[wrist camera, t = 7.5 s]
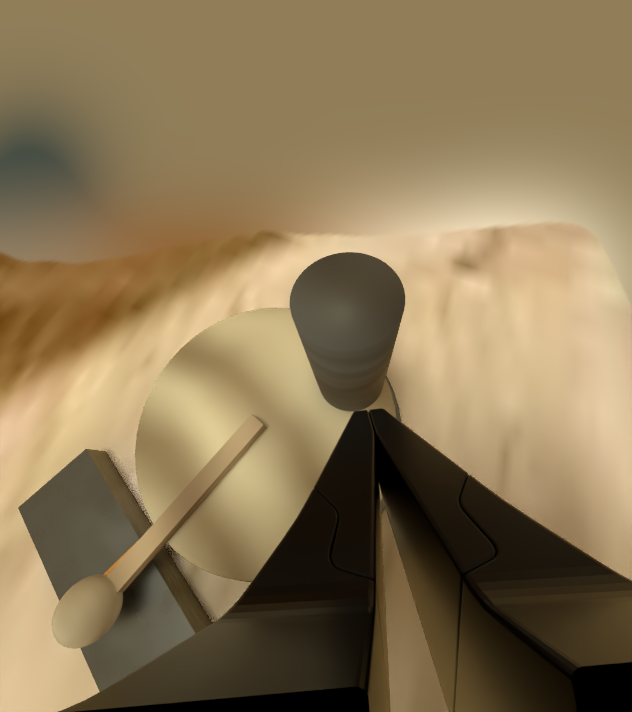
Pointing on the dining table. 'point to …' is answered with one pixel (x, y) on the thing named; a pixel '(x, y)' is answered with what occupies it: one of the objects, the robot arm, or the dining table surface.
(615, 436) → the dining table surface
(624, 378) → the dining table surface
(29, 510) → the base
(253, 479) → the disc
